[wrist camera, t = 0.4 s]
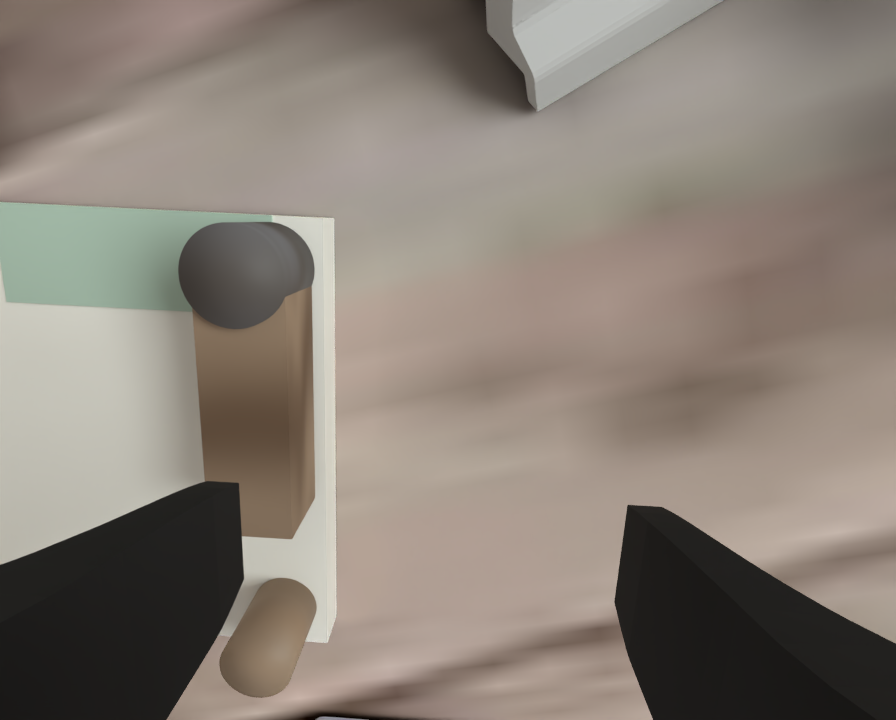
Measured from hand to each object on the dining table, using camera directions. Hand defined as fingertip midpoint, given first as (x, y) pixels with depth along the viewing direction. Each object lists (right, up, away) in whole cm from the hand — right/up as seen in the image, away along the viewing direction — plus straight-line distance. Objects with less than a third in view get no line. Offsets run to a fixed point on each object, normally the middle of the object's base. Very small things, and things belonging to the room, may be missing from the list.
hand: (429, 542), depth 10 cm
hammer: (-5, +3, +8) cm, 10 cm away
